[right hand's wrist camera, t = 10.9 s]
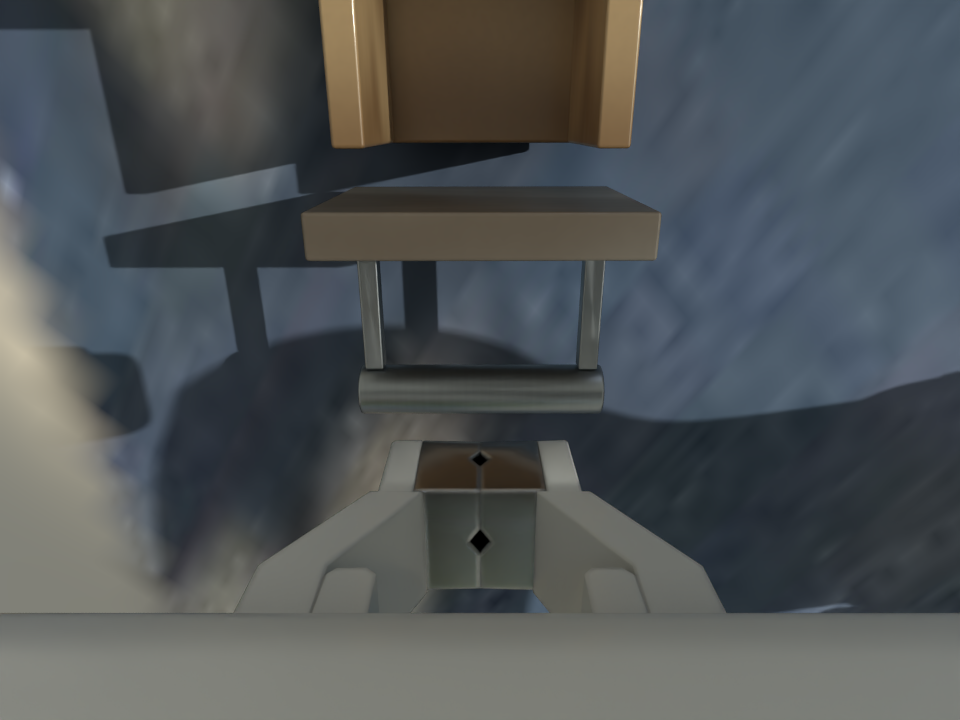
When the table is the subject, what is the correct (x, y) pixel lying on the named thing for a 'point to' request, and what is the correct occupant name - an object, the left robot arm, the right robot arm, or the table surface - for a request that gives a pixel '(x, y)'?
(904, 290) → the table surface
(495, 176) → the table surface
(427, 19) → the drawer
